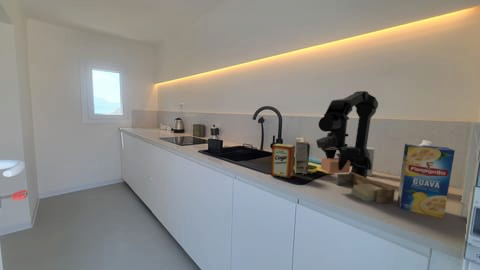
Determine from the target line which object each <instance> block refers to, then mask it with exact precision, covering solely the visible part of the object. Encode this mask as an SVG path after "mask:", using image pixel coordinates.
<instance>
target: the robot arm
mask: <svg viewBox="0 0 480 270" xmlns="http://www.w3.org/2000/svg"><path fill="white" fill-rule="evenodd" d="M354 107H355V112H356V114H357V116H358V123H357V130H356V136H355V144H354V146H351V145H349V146H348V143H346V137H349V133H347V126H348V120H350V118H349V114H350V113H351V112H353V108H354ZM378 107H379V101H378V100H377V98H376V97H375V96H374V95H371V93H369V92H368V91H366V90H363V91H355V92H353V93H352V94H350V95H349V96H347V97H344V98H339V99H333V100H331V101H330V103H329V106H328V107H327V108H326V111H325V113H324V114H323V117H321V118H320V119H319V121H318V128H319V129H320V131H322V132H325V133H326V132H327V134H326V135H327V136H324V137H323V136H322V137H321V138H319V139H316V140H315V141H316V146H317V148H318V149H320V150H321V151H323V152H324V153H325V154H324V155H325V156H326V158H335V156H337V157H338V158H339V165H338V167H339V170H342V169H343V167H344V166H345V165H346V163H347V162H348V161H350V167H351V170H350V172H353V173H355V174H358V175H360V176H363V177H365V178H368V175H367V170H371V167H372V163H371V160H370V158H369V155H370V154H369V152H368V150H367V147H368V140H369V132H370V127H371V119H372V118H373V116H374V115H375V114H376V112H377V109H378ZM337 151H338V153H337Z"/></svg>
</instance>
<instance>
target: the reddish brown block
mask: <svg viewBox="0 0 480 270" xmlns="http://www.w3.org/2000/svg"><path fill="white" fill-rule="evenodd" d="M338 165H339V157H338V158H337V157H336V158H335V157H334V158H327V157H326V158H322V157H321V161H320V170H323V171H325V172H327V173H329V174H335V173H336V174H349V172H350V171H351V170H350V168H351V166H350V161H349V160H348V162H347V163H346V165H345V166H344V167H343V169H342V170H339V167H338Z"/></svg>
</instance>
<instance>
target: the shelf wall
mask: <svg viewBox="0 0 480 270" xmlns="http://www.w3.org/2000/svg"><path fill="white" fill-rule="evenodd" d="M348 174H354V179H353V185H352V186H354V185H359V184H372V185H374V186H377V187H379V188H382V189H377V198H376V201H375V203H376V204H390V203H391V204H392V203H394V198H395V192H396V191H395V188H392V187H390V186H387V185H385V184H383V183H379V182H378V181H375V180H374V179H373V180H372V179H370V178H368V177H367V178H365V177H363V176H360V175H358V174H355V173H353V172H351V171H349V172H348Z"/></svg>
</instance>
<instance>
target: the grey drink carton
mask: <svg viewBox="0 0 480 270" xmlns="http://www.w3.org/2000/svg"><path fill="white" fill-rule="evenodd" d="M310 149H311V144H310V143H308V142H306V141H296V142H295V154H294V167H295V170H294V173H295V174H296V173H303V174H302V175H304V174H307V173H309V172H308V171H309V160H310V159H309V158H310ZM307 175H308V174H307Z"/></svg>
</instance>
